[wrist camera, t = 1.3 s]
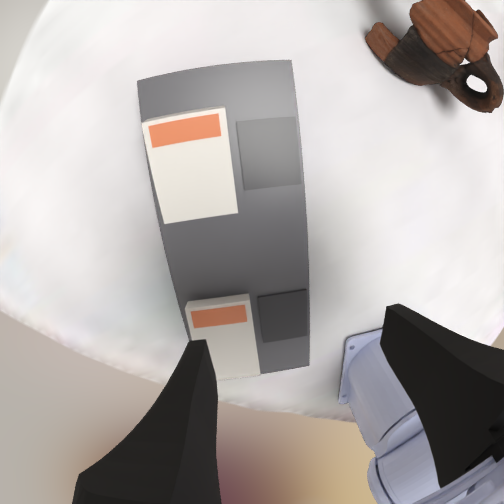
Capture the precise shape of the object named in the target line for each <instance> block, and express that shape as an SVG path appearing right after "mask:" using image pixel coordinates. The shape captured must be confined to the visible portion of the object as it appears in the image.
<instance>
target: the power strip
mask: <svg viewBox="0 0 504 504" xmlns="http://www.w3.org/2000/svg"><path fill="white" fill-rule="evenodd" d="M137 87H138V97H139V106H140V114H141V122H144V121H145V120H147V119H151V118H155V117H160V116H164V115H169V114H174V113H180V112H185V111H191V110H197V109H203V108H209V107H216V106H225V111H226V119H227V127H228V136H229V144H230V152H231V160H232V168H233V176H234V184H235V192H236V200H237V208H238V213H235V214H227V215H220V216H213V217H207V218H200V219H193V220H187V221H181V222H174V223H168V224H164V220H163V217H162V213H161V209H160V205H159V201H158V197H157V193H156V189H155V185H154V181H153V176H152V172H151V168H150V163H149V159H148V154H147V149H146V145H145V150H146V157H147V163H148V169H149V175H150V180H151V186H152V191H153V197H154V202H155V207H156V212H157V217H158V221H159V226H160V231H161V235H162V240H163V244H164V248H165V253H166V257H167V261H168V265H169V269H170V273H171V277H172V281H173V285H174V289H175V292H176V296H177V300H178V303H179V307H180V311H181V314H182V318H183V321H184V324H185V328H186V331H187V335H188V338H189V341H192V338H191V334H190V330H189V325H188V321H187V317H186V312H185V307H186V305H187V302H188V301H195V300H203V299H210V298H218V297H226V296H233V295H240V294H247V293H249V298H250V304H251V311H252V319H253V326H254V333H255V339H256V346H257V353H258V360H259V367H260V374H264V373H271V372H277V371H283V370H289V369H294V368H300V367H305V366H309V352H310V306H309V262H308V236H307V217H306V200H305V185H304V172H303V160H302V148H301V137H300V127H299V118H298V109H297V100H296V92H295V84H294V76H293V68H292V61H291V60H270V61H254V62H242V63H231V64H223V65H215V66H208V67H201V68H195V69H189V70H183V71H178V72H173V73H168V74H163V75H159V76H155V77H150V78H146V79H142V80H138V81H137ZM143 137H144V135H143ZM144 144H145V140H144Z"/></svg>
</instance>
